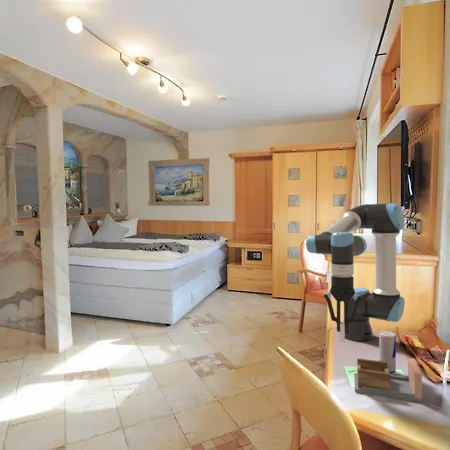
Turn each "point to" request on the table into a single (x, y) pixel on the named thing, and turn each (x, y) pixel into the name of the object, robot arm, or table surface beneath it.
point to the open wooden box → (373, 374)
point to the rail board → (399, 385)
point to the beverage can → (388, 350)
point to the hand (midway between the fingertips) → (342, 340)
